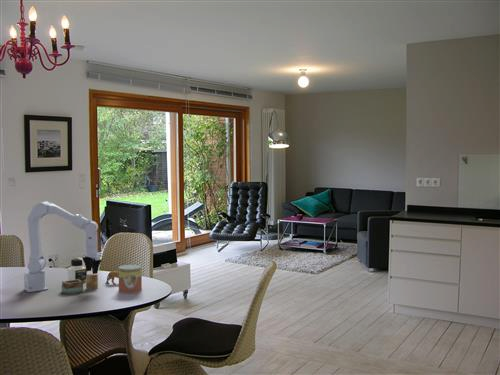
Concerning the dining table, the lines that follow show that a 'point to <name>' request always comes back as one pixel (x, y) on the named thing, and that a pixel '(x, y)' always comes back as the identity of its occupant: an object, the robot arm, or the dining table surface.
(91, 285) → the block
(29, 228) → the robot arm
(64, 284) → the brown wooden rectangular frame
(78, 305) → the dining table surface
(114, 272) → the lion figurine
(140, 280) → the canned food
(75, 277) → the medicine bottle
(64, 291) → the pale green domed part
